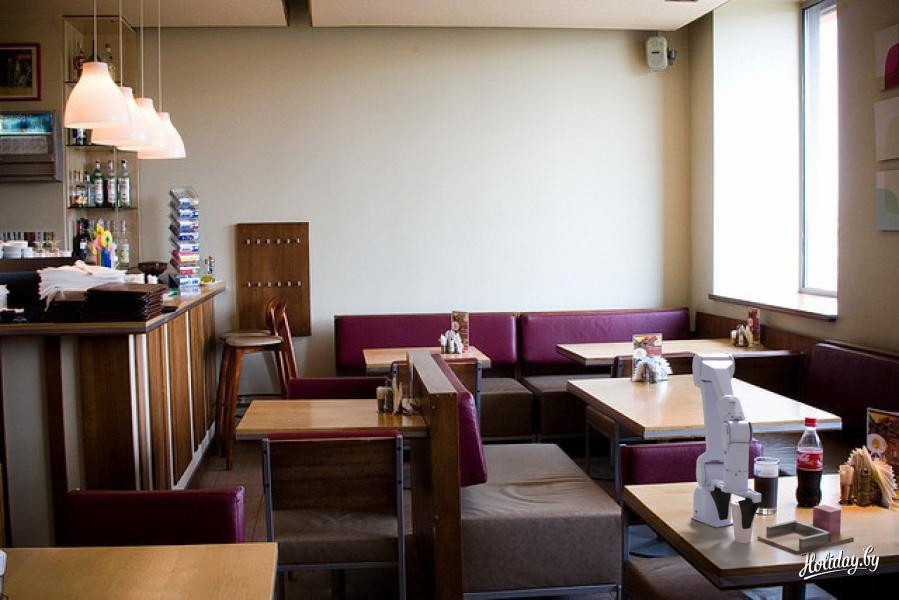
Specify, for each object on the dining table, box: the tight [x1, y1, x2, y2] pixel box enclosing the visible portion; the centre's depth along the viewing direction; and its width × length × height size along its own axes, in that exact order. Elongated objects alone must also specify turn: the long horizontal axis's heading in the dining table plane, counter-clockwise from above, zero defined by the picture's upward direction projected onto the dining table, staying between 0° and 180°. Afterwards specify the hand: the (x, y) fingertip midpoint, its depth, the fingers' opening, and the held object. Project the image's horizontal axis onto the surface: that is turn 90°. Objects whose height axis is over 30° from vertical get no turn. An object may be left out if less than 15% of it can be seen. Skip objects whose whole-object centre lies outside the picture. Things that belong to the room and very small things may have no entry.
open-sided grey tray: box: [757, 504, 855, 555], centre depth 227 cm, size 12×20×7 cm, turn 118°
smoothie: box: [730, 498, 756, 544], centre depth 226 cm, size 6×6×14 cm
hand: (734, 523), depth 225 cm, fingers open, 7 cm apart
